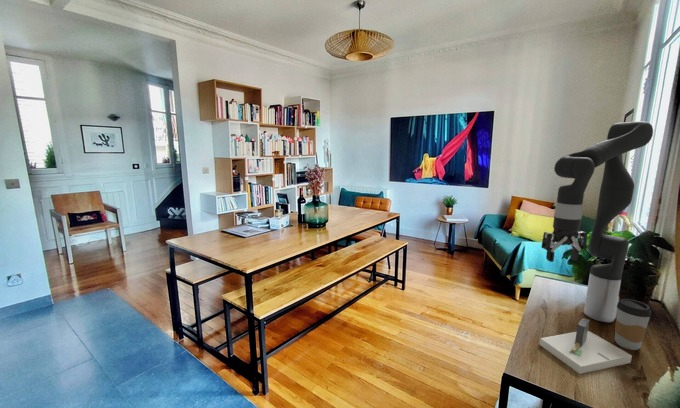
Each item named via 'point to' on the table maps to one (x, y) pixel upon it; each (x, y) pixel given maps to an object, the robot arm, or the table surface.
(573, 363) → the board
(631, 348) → the coffee cup
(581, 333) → the dark gray beam
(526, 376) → the table surface
